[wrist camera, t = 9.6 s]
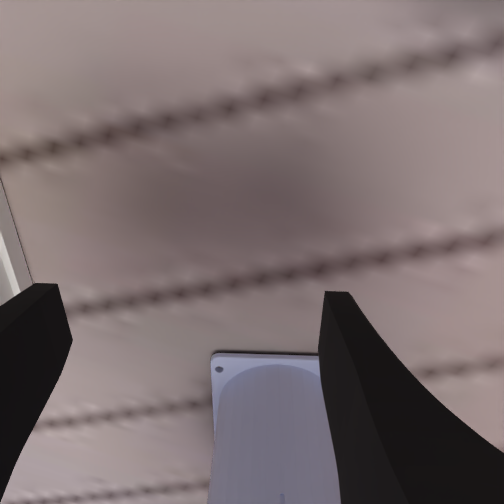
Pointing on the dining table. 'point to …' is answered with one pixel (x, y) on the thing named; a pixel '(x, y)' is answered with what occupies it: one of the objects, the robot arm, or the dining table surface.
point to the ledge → (10, 256)
